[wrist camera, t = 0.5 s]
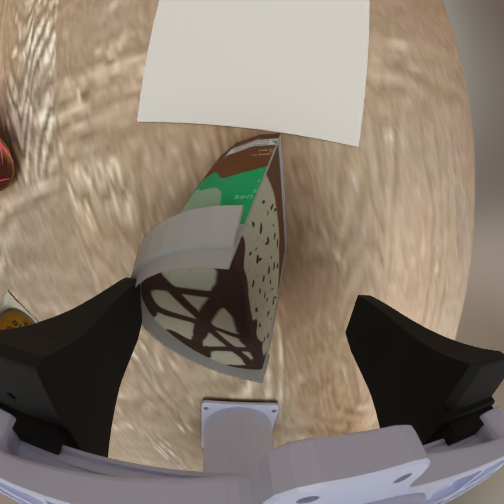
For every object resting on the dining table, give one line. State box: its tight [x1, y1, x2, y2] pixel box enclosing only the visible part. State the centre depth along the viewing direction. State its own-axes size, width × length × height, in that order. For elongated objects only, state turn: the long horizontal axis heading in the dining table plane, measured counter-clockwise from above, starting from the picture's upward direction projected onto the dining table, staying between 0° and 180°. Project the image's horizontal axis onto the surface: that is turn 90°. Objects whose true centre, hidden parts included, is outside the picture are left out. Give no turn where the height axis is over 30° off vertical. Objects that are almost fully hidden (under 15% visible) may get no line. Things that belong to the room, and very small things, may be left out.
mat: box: [137, 0, 369, 147], centre depth 17 cm, size 14×16×1 cm
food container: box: [131, 133, 287, 383], centre depth 16 cm, size 12×6×10 cm
